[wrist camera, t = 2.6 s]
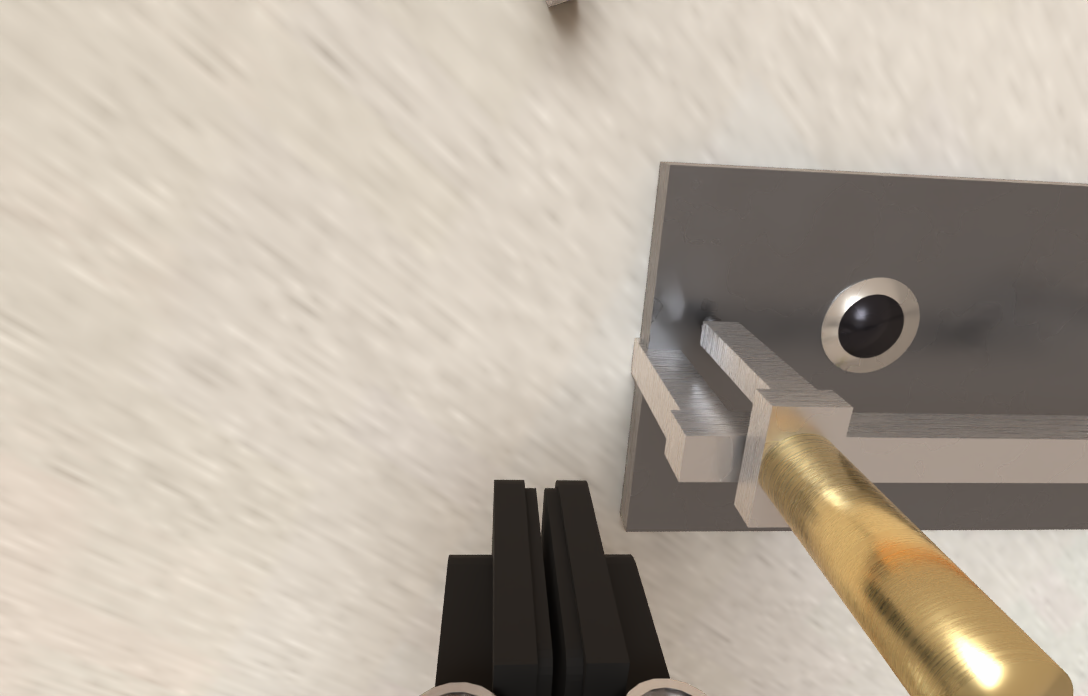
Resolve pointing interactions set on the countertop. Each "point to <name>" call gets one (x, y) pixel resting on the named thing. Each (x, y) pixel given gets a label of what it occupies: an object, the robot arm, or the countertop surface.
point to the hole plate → (872, 317)
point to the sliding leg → (868, 538)
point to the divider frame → (863, 436)
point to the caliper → (554, 2)
